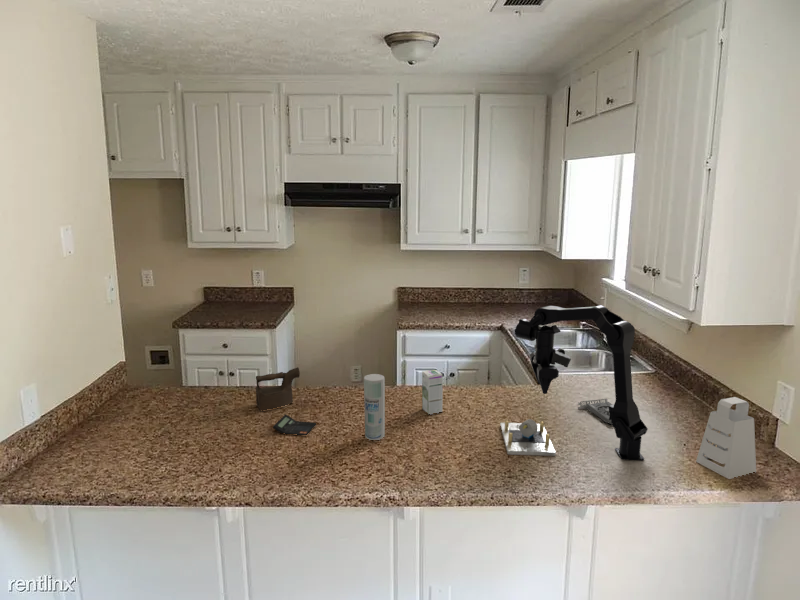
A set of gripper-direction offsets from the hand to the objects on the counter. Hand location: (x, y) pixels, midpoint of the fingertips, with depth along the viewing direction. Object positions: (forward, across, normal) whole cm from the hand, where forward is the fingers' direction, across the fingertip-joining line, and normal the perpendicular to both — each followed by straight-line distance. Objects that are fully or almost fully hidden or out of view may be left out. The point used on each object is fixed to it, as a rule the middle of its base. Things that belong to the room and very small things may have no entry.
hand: (542, 388), depth 180 cm
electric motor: (+11, -15, +7) cm, 19 cm away
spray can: (+12, -15, +55) cm, 58 cm away
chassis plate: (+12, -14, +7) cm, 20 cm away
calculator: (+13, -11, +82) cm, 84 cm away
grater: (+12, -27, -47) cm, 56 cm away
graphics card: (+13, +7, -23) cm, 27 cm away
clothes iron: (+12, +8, +94) cm, 95 cm away
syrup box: (+12, +7, +37) cm, 40 cm away
